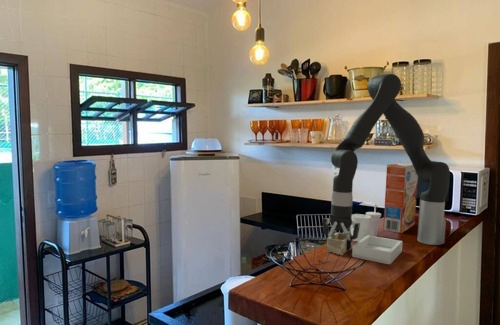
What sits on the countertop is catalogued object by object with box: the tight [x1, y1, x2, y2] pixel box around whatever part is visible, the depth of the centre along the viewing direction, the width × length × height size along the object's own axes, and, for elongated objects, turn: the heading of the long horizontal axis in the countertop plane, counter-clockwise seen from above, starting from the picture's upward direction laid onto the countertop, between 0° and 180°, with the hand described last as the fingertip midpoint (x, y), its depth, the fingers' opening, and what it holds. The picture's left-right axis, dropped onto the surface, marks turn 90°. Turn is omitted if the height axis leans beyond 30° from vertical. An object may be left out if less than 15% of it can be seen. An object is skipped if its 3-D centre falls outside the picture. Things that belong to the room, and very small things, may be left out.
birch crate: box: [326, 231, 353, 256], centre depth 146 cm, size 11×6×5 cm, turn 147°
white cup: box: [350, 213, 371, 243], centre depth 160 cm, size 8×8×10 cm
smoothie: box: [365, 203, 382, 237], centre depth 167 cm, size 6×6×14 cm
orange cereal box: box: [382, 162, 419, 234], centre depth 184 cm, size 23×8×30 cm, turn 144°
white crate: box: [351, 235, 403, 265], centre depth 142 cm, size 18×13×4 cm
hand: (339, 247), depth 146 cm, fingers closed on birch crate, 6 cm apart
